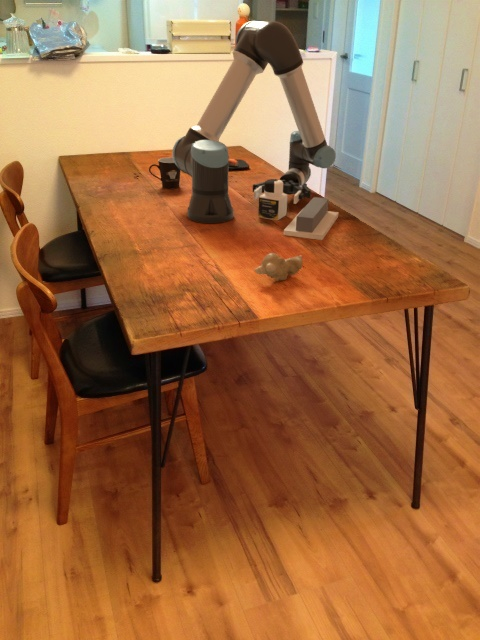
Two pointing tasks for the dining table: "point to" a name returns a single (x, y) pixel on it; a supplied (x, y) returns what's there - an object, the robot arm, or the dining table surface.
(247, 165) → the sushi plate
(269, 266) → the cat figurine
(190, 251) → the dining table surface
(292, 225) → the stand
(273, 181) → the medicine bottle
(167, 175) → the coffee mug
